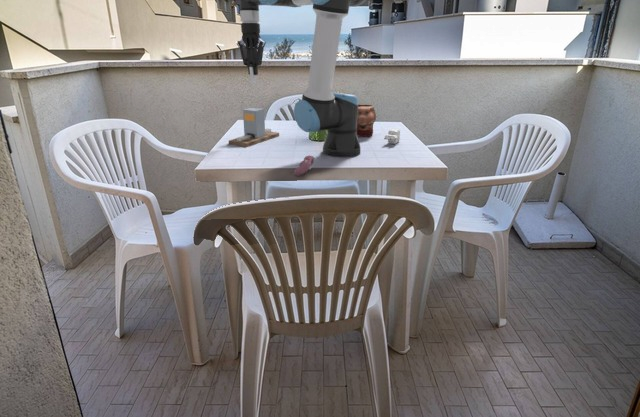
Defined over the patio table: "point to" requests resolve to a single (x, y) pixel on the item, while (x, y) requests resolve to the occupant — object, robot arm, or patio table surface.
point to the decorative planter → (365, 120)
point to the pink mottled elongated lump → (304, 166)
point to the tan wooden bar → (251, 136)
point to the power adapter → (393, 136)
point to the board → (254, 140)
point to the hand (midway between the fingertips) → (253, 83)
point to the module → (254, 122)
